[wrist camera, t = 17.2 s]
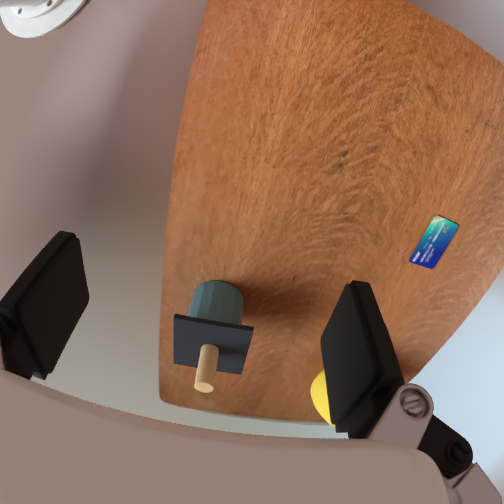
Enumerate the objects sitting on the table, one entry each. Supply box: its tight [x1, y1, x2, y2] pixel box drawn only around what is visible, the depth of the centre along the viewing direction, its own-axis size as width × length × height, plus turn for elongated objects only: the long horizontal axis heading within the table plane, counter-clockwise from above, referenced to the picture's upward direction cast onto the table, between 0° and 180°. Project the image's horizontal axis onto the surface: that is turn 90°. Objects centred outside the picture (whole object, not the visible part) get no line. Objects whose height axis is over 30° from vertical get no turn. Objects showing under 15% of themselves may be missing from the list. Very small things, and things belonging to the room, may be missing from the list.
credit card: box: [409, 215, 458, 269], centre depth 41 cm, size 8×5×1 cm, turn 164°
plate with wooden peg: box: [174, 314, 254, 392], centre depth 39 cm, size 10×10×7 cm
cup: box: [187, 281, 244, 325], centre depth 45 cm, size 8×8×9 cm
